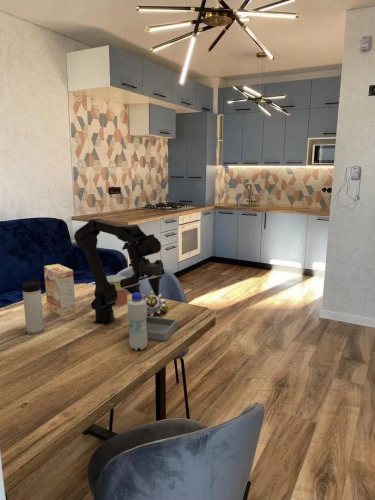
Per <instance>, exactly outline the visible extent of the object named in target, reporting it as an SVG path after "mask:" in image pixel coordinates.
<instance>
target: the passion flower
mask: <svg viewBox="0 0 375 500" xmlns="http://www.w3.org/2000/svg"><path fill="white" fill-rule="evenodd" d="M141 295H142V300H145V301H146V306H147V315H149V316H152V317H154V314H155V313H156V314H161V308H162V309H163V310H164V312H165V313H167V312H168V309H169V306H167V304H166V301H165V300H166V299H165V298H162V293H160V292H159V296H156V295H155V294H154V292H153V290H152V289H151V290H150V291H149V292H148V293H147V294H141Z"/></svg>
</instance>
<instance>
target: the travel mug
mask: <svg viewBox="0 0 375 500" xmlns="http://www.w3.org/2000/svg"><path fill="white" fill-rule="evenodd" d="M21 288H22V300H23V307H24V319H25V328H26V329H25V330H26V333H27V334H28V333H29V334H28V335H38V334H37V333H39V334H40V333H43V332H44V331H45V324H44V323H45V322H44V314H43V302H42V291H41V282H40V279H39V278H34V279H30V280H27V281H24V282H23V283H22V284H21Z"/></svg>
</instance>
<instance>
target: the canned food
mask: <svg viewBox="0 0 375 500" xmlns="http://www.w3.org/2000/svg"><path fill="white" fill-rule="evenodd" d="M106 278H107V281H108V282H109V283H110V284H114V285H115V288H116V291H117V292H118V293H117V297H118V298H117V300H116V303H115V305H113V306H112V308H120V307H123V306H125V305H128V290H127V289H124V288H125V287H122V288H121V286H120V280H122V279H125V278H127V276H125V275H121V274H111V275H106Z"/></svg>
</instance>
